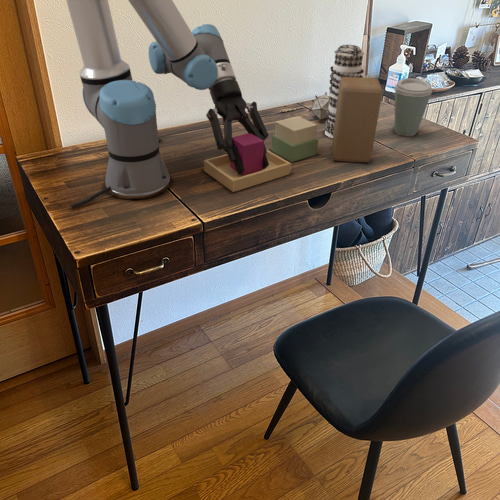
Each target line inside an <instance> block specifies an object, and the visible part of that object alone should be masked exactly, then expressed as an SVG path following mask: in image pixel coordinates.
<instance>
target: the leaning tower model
mask: <svg viewBox="0 0 500 500" xmlns="http://www.w3.org/2000/svg"><path fill="white" fill-rule="evenodd" d="M333 52H334V54H335V55H334V62H333V65H332V66H330V68H329V69H330V72H331V73H330V75H329V78H330V79H329V84H330V86H329V88H328V89H329V91H328V96H329V98H330V104H329V108H328V109H329V110H327V114H328V115H327V118H326V119H327V120H325V126H324V129H325V131H324V134H325V136H327V137H328V138H330V139H333V134H334V126H335V118H336V109H337V101H338V93H339V85H340V80H341V78H343V77H358V78H364V76H363V75H362V74H363V73H364V72H365V70H364V69H363V57H364V54H365V53H364V51H363V50H362V48H361V47H360V46H358V45H356V44H342V45H340V46H339V47H337V49H336V50H334V51H333Z"/></svg>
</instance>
